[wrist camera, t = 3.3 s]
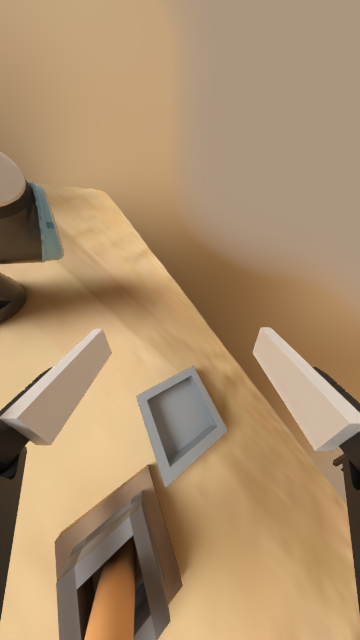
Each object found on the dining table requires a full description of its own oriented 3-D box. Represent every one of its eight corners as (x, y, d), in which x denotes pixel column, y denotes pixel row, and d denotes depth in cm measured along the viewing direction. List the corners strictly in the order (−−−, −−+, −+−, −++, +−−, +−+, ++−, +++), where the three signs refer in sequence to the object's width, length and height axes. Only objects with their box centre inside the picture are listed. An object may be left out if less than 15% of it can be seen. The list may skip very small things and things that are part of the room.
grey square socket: (73, 710, 13) (36, 873, 8) (60, 532, 18) (33, 575, 13) (179, 573, 18) (192, 628, 13) (147, 464, 23) (149, 478, 18)
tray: (161, 476, 22) (165, 487, 19) (136, 397, 28) (136, 395, 24) (218, 427, 28) (228, 430, 25) (188, 369, 33) (193, 365, 30)
